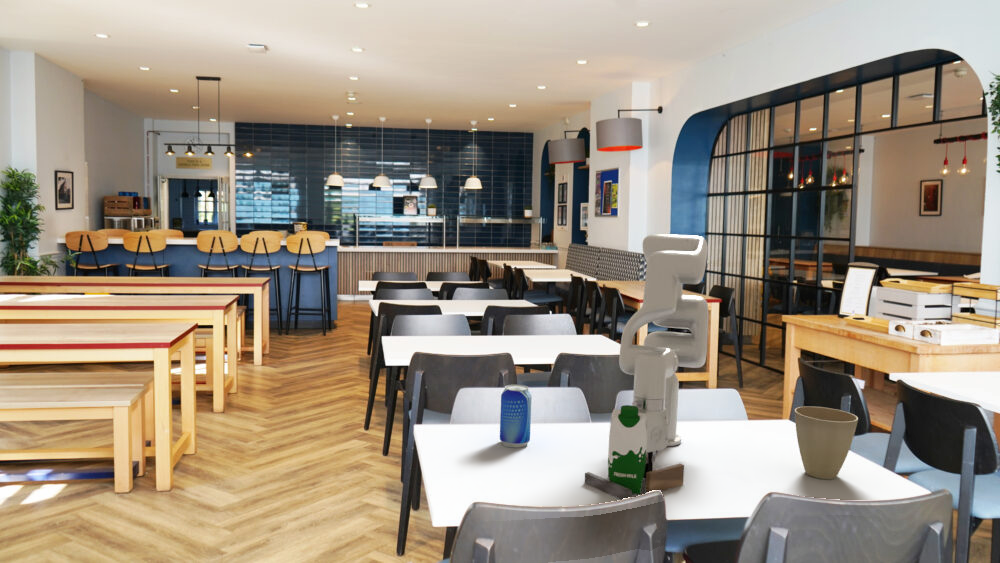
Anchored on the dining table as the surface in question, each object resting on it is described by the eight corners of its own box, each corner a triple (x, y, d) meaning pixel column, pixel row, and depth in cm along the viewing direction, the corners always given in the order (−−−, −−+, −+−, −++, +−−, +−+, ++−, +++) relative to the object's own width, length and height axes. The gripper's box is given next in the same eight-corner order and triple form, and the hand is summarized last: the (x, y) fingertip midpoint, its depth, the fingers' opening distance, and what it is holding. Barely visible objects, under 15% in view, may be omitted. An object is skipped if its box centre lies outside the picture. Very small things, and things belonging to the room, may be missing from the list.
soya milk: (606, 492, 178) (610, 408, 176) (607, 479, 186) (611, 399, 185) (644, 496, 176) (648, 411, 174) (644, 482, 185) (648, 401, 183)
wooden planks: (584, 483, 183) (585, 462, 183) (640, 468, 195) (641, 449, 195) (627, 501, 172) (628, 480, 172) (683, 485, 184) (685, 465, 184)
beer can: (494, 445, 210) (496, 388, 208) (506, 437, 218) (508, 382, 216) (523, 450, 207) (525, 392, 205) (533, 441, 215) (536, 386, 213)
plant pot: (848, 489, 185) (853, 425, 184) (784, 476, 193) (789, 414, 191) (857, 472, 198) (861, 412, 196) (796, 460, 206) (801, 403, 204)
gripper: (639, 411, 177) (635, 488, 178) (681, 402, 186) (677, 476, 187) (615, 403, 182) (612, 478, 184) (657, 396, 192) (653, 467, 193)
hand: (644, 477), depth 186 cm, fingers closed
